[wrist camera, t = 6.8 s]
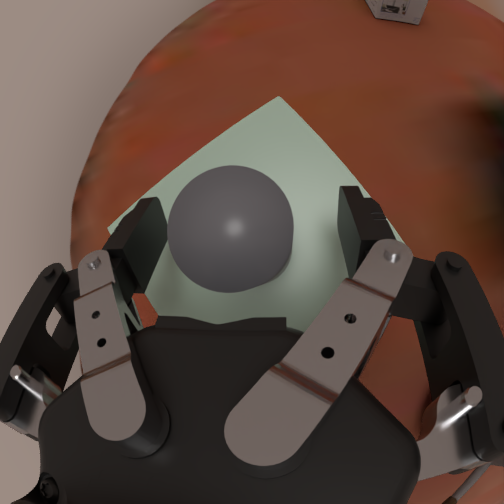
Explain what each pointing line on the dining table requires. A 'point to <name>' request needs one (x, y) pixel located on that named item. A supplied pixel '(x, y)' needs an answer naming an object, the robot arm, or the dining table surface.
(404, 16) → the light bulb box
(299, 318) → the lid
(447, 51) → the dining table surface
